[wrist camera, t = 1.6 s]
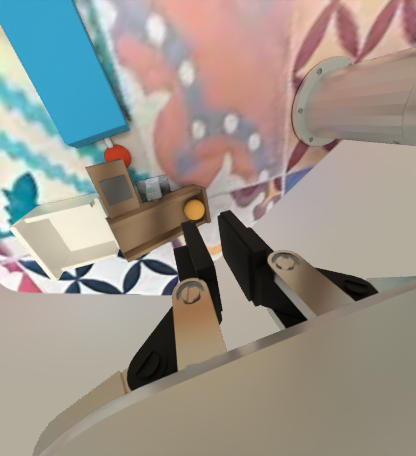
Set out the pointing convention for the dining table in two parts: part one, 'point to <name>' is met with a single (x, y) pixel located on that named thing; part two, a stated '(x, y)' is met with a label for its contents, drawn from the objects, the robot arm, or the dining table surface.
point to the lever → (65, 71)
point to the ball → (194, 209)
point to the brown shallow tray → (142, 210)
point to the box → (67, 234)
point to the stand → (153, 188)
